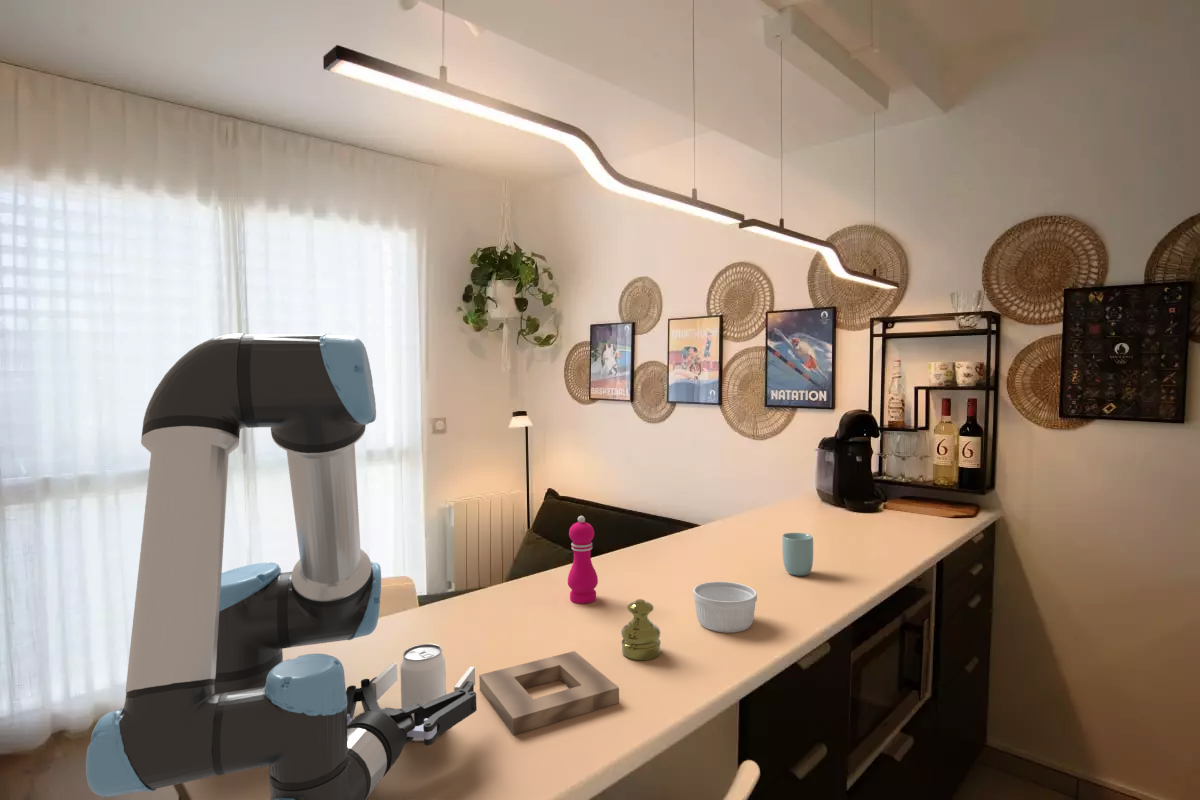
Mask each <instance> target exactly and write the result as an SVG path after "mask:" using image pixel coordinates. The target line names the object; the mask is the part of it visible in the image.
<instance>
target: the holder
mask: <svg viewBox="0 0 1200 800" xmlns="http://www.w3.org/2000/svg"><path fill="white" fill-rule="evenodd" d="M478 677H479V691H480V692H481V693H482V695H483V696H484V698H485V699H486V700H487V701H488V702H489V704H490V705H491V707H492V708H493V710H494V711H495V712H496V714H497V716H498V717H500V719H501V720H502V722H503V723H504V724H505V726H506V727H507V729H508V730H509V732H510V733H511V734H512V735H513V736H515V735H519V734H522V733H525V732H529V731H533V730H535V729H538V728H542V727H546V726H548V725H552V724H555V723H558V722H562V721H565V720H569V719H572V718H574V717H578V716H581V715H585V714H588V713H591V712H593V711H597V710H601V709H603V708H607V707H611V706H614V705H616V704H620V687H619V686H617V685H616V684H615V683H614V682H613V681H612V680H610V679H609V677H607V676H606V675H604V674H603V673H602V672H601V671H600V670H598V669H597V668H596V667H595V666H594V665H593V664H591V663H590V661H587V660H586V659H585V658H584V657H583V656H582V655H580V654H579V653H578V652H577V651H575V650H574V651H573V650H572V651H569V652H565V653H562V654H557V655H553V656H550V657H545V658H542V659H537V660H533V661H529V662H526V663H525V662H524V663H522V664H518V665H513V666H509V667H506V668H500V669H497V670H494V671H489V672H485V673H482V674H479V675H478ZM559 680H560V681H561V682H562V683H564V684H565V685H566V686H567V687H568V688H567V689H565V690H559V691H557V692H554V693H550V694H545V695H543V696H539V697H536V698H533V697H532V696H531V695H530V693H528V691H527V690H526V689H530V688H533V687H536V686H540V685H544V684H547V683H551V682H555V681H559Z"/></svg>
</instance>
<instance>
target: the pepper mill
mask: <svg viewBox="0 0 1200 800" xmlns="http://www.w3.org/2000/svg"><path fill="white" fill-rule="evenodd" d="M568 531H569V532H568V536H569V538H570V540H571V541H572V542H571V544H570V545H571V550H572V551H573V561H572V564H571V567H570V570H569V573H568V576H567V585H568V587H569V588H570V589H571V590H570V591H569V600H570V602H573V603H575V604H582V605H583V604H584V605H585V604H589V603H594V602H595V601H596V600H597V591H596V590H595V588H596V587H597V586H598V585H599V580H598V579H599V578H598V574H597V571H596V570H595V569H596V568H594V565H593V563H592V558H591V554H592V553H591V551H592V549H593V541H592V540H593V539H594V537H595V530H594V527H593V526H592V525H591V524H590V523H588V522H586V518H585V517H584V516H583V515H580V516H578V517H577V522H575V523H572V525H571V526H570V528H569V530H568Z"/></svg>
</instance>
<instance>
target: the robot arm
mask: <svg viewBox="0 0 1200 800" xmlns="http://www.w3.org/2000/svg"><path fill="white" fill-rule="evenodd" d="M376 405H377V404H376V396H375V389H374V383H373V376H372V371H371V365H370V361H369V356H368V351H367V349H366V346H365V344H364V343H363V342H362V340H361V339H360V338H358V337H356V336H353V335H343V334H341V335H340V334H339V335H338V334H331V333H328V332H326V333H325V332H323V333H321V334H273V333H271V334H270V333H269V334H265V333H264V334H262V333H261V334H259V333H258V334H253V333H252V334H251V333H249V334H246V333H228V334H223V335H219V336H216V337H213V338H211V339H208V340H206V341H204V342H202V343H199V344H198V345H196V346H195V347H193V348H191V349H190V350H188V351H187V352H186V353H184V355H183V356H181V357H180V358H179V359H178V360H177V361H176V362H175V363H174V364H173V366H171V368H169V369H168V371H167V372H166V373H165V374H164V376H163V377H162V379H161V380H160V382H159V384H157V386H156V388H155V389H154V392H153V393H152V395H151V397H150V400H149V401H148V404H147V407H146V410H145V413H144V417H143V421H142V431H141V436H140V437H141V439H140V440H141V441H140V443H141V445H142V446H143V448H144V449H146V450H147V451H148V452H149V453H150V460H149V461H150V462H149V469H148V478H147V486H146V487H147V488H146V498H145V506H144V514H143V515H144V516H143V524H142V526H143V527H142V533H141V534H142V535H141V544H140V554H139V563H138V571H137V572H138V573H137V582H136V583H137V584H136V591H135V598H134V599H135V601H134V609H133V618H132V626H131V628H132V629H131V636H130V637H131V638H130V645H129V646H130V647H129V653H128V654H129V656H128V665H127V675H126V683H125V684H126V685H125V701H124V705H123V707H120V708H119V709H118V708H117V710H113V711H109V712H107V713H105V714H104V715H103V716H101V717H100V718H99V719H98V721H97V722H96V724H95V726H94V728H93V730H92V732H91V737H90V738H91V739H90V743H89V744H88V746H87V749H86V757H85V775H86V782H87V784H88V787H89V789H90V790H91V792H92V793H94V794H95V795H97V796H100V797H104V798H106V797H107V798H109V797H116V796H122V795H128V794H134V793H142V792H147V793H151V792H154V791H156V790H157V789H161V788H165V787H170V786H175V785H180V784H184V783H189V782H193V781H198V780H202V779H207V778H212V777H216V776H223V775H229V774H234V773H240V772H245V771H250V770H255V769H258V768H259V769H260V768H264V767H268V769H269V789H270V790H269V791H270V799H269V800H367V798H368V797H369V796H370V795H371V793H372V792H373V791H374V790H375V788H376V787H377V786H378V784H380V782H381V781H382V779H383V778H384V777H385V776H386V775H387V773H388V772H389V771H390V769H391V768H392V767H393V765H394V764H396V761H398V759H399V757H400V755H401V753H402V752H403V749H404V747H405V745H406V744H408V743H410V742H412V741H411V740H412V739H413V738H414V737H415V738H424V742H423V744H424V745H425V746H431V745H433V744H434V743H435V741H436V740H437V739H438V737H440V736H441V735H442V734H444V733H445V732H447V731H449V730H450V729H452V728H453V727H455V726H456V725H457V724H459V723H461V722H462V721H463V720H465V719H466V718H468V717H469V716H471V715H472V714H474V713H475V712H477V692H476V691H474V687H475V685H476V667H475V666H469V667H468V669H466V671H465V672H464V673H463V675H462V676H461V678H460V679H459V680H458V681H457V683H456V684H455V686H454V687H453V690H454V691H452V692H449V693H446V695H444V696H442V697H439V698H437V699H435V700H432V701H430V702H427V703H425V704H423V705H419V704H414V705H411V706H409V707H406V708H404V709H402V707H401V708H393V707H384V708H381V707H380V705H379V703H378V701H379V700H380V698H381V697H382V696H383V695H385V693H386V692H387V691H388V690H389V689H391V687H392V686H393V685H394V684H395V683H396V682H397V681H398V663H397V662H392V663H391V664H389V666H387V667H385V668H386V669H384V670H383V671H382V672H381V673H380V674H379V675H377V676H375V677H373V678H372V679H369V678H363V679H361V681H360V687H357V686H356V685H355V684H354V685H349V686H347V688H346V677H345V670H344V666H343V664H342V662H341V661H340V659H338V657H335V656H333V655H330V654H327V653H308V654H303V655H302V654H301V655H299V656H297V657H294V658H291V659H289V658H288V659H285V660H284V658H283V657H284V655H283V654H284V653H283V649H289V648H297V647H303V646H304V647H305V646H312V645H320V644H326V643H334V642H343V641H351V640H354V639H357V638H362V637H366V636H369V635H371V634H372V633H374V631H375V630H376V628H377V626H378V623H379V617H380V609H381V608H380V607H381V600H380V599H381V593H382V569H381V565H380V564H379V563H378V562H373V561H371V559H370V556H369V555H368V554H367V553H366V552H365V550H363V549H361V535H360V519H359V518H360V517H359V515H360V514H359V500H358V499H359V498H358V484H357V483H358V482H357V479H358V478H357V467H356V466H357V461H356V448H355V447H356V445H355V444H356V443H357V442H359V440H361V439H362V437H363V436H364V434H365V432H366V425H369V424H372V423H374V422H375V421H376V420H377V408H376V407H377V406H376ZM244 428H248V429H249V428H254V429H255V428H270V434H271V438H272V440H273V442H274V443H275V444H276V445H277V446H278V447H279V448H281V449H282V450H284V451H286V457H287V465H288V473H289V481H290V489H291V497H292V505H293V511H294V513H293V514H294V522H295V529H296V537H297V544H298V545H297V546H298V553H299V559H298V560H297V562H296V563H295V564H294V567H293V569H292V571H287V572H286V571H285V572H282V569H281V567H280V565H279V564H278V563H276V562H259V563H254V564H248V565H244V566H241V567H236V568H233V569H229V570H226V571H224V572H222V571H223V559H224V558H223V555H224V538H225V525H226V524H225V523H226V521H225V520H226V506H227V505H226V504H227V489H228V473H229V472H228V471H229V458H230V456H229V455H230V454H231V453H232V452H233V451H235V450H236V449H238V447H239V445H240V434H241V433H240V432H241V429H244ZM357 702H358V703H359V702H361V706H362V708H363V712H362V713H360V714H358V715H356V716H355V715H354V714H355V711H356V708H357ZM413 713H414V720H413V718H412V716H411V714H413ZM354 716H355V717H354ZM439 735H440V736H439Z"/></svg>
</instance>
